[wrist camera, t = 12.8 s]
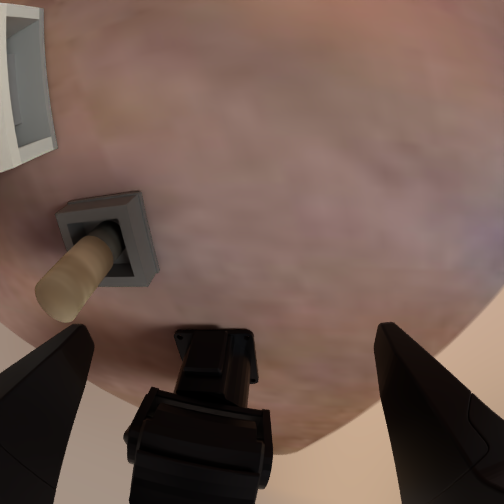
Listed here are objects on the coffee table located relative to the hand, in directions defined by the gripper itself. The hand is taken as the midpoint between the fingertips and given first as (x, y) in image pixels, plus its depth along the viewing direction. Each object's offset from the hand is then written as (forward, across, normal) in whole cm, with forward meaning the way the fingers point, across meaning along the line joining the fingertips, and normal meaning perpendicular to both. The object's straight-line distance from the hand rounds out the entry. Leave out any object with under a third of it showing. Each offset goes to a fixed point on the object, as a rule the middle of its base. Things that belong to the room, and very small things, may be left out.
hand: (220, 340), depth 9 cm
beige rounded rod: (+12, +10, +2) cm, 15 cm away
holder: (+12, +10, +2) cm, 16 cm away
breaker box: (+12, +18, -10) cm, 24 cm away
